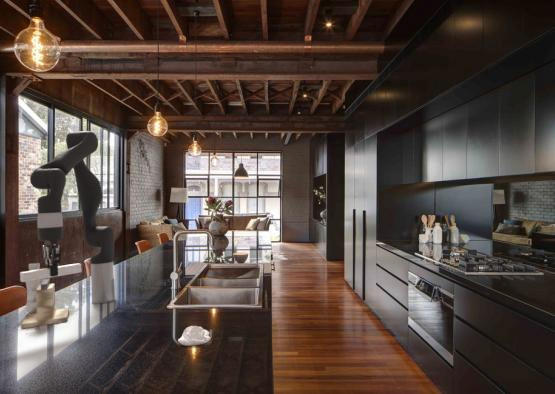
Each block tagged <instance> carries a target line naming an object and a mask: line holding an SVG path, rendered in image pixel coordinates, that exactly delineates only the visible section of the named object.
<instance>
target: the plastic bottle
mask: <svg viewBox="0 0 555 394" xmlns="http://www.w3.org/2000/svg"><path fill="white" fill-rule="evenodd" d="M40 265H41V264H40V263H39V262H34V263H33V262H32V263H29V264H28V269H29V270H28V271H31V270H38V269H41V266H40ZM43 281H44V279H39V280H33V281H27V282H25V285H26V291H27V292H26V294H27V297H26V305H25V309H26V312H27V314H33V313H37V300H36V290H37V288H38V287H39V285H41V284H42V282H43Z"/></svg>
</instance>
